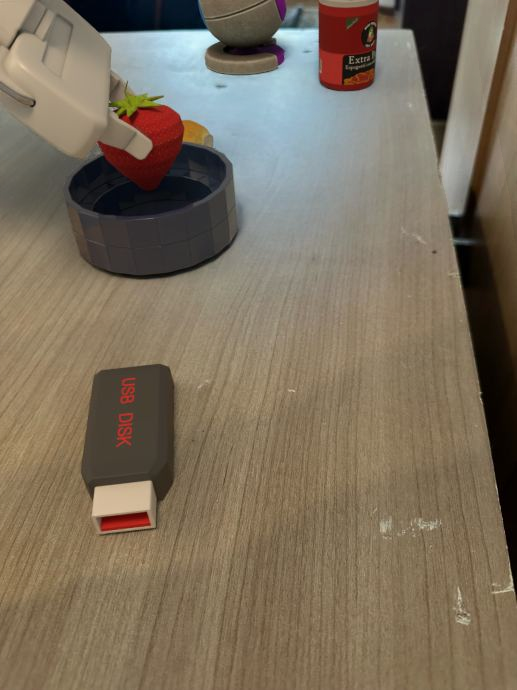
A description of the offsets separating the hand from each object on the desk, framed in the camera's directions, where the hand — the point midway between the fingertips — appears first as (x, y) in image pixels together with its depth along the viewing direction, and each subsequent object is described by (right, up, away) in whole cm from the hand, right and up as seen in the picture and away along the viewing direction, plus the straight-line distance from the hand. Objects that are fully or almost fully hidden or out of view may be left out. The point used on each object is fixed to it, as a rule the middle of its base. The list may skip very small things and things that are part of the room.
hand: (147, 132), depth 55 cm
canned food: (+22, +18, +35) cm, 45 cm away
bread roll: (0, +3, +20) cm, 20 cm away
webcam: (+8, +25, +44) cm, 52 cm away
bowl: (0, -8, +7) cm, 10 cm away
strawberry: (0, -4, +4) cm, 6 cm away
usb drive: (+1, -25, -14) cm, 29 cm away
